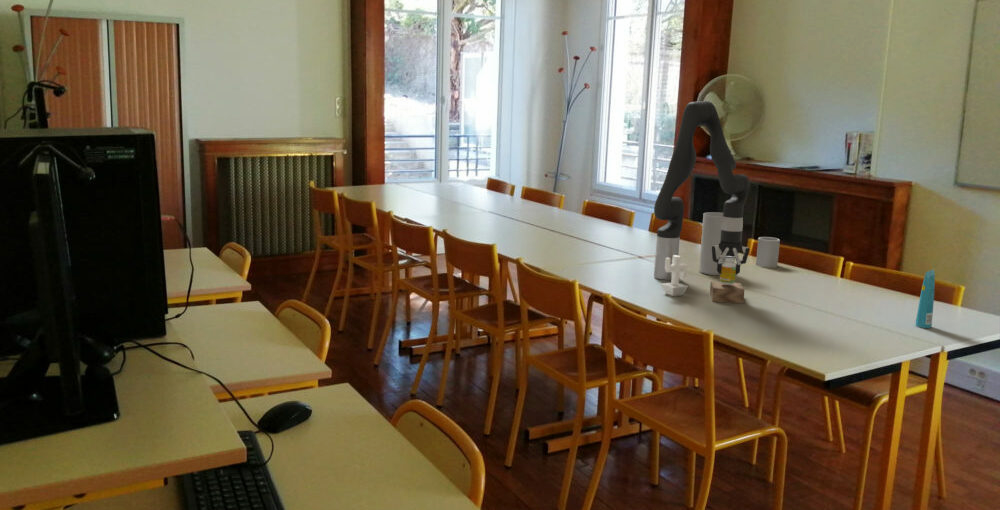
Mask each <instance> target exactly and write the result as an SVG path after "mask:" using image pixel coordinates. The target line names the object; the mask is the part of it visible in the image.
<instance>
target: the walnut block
mask: <svg viewBox="0 0 1000 510" xmlns="http://www.w3.org/2000/svg"><path fill="white" fill-rule="evenodd" d="M709 285H710V286H709V295H710V299H711V301H712V302H715V303H733V304H744V301H745V300H744V299H745V288H744V287H743V285H742V283H740V282H735V283H734V284H723V283H721V282H720V281H710V284H709Z"/></svg>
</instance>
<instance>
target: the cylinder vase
mask: <svg viewBox="0 0 1000 510" xmlns="http://www.w3.org/2000/svg"><path fill="white" fill-rule="evenodd" d="M702 217H703V218H702V228H701V229H702V230H701V232H702V233H701V243H700V256H699V265H698V267H699V268H698V269H699V272H700V273H701V274H704V275H709V276H718V277H720V274H719V273H718V272H717V263H716V262H714V261H713V259H712V250H711V246H712V245H714V246H715V245H719V243H720V238H721V225H722V219H723V212H718V211H717V212H716V211H715V212H714V211H711V212H704V213H703V216H702ZM715 252H716V258H717V259H719V257H720V254H721V250H720V249H719V248H718V249H717V251H715ZM722 262H724V260H723V261H722ZM722 262H721V264H722Z"/></svg>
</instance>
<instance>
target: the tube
mask: <svg viewBox="0 0 1000 510" xmlns="http://www.w3.org/2000/svg"><path fill="white" fill-rule="evenodd" d="M935 276H936V275H935V269H932V270H929V271H926V272H925V274H924V278H923V283H922V286H921V291H920V296H919V301H918V307H917V313H916V319H915V326H916V327H918V328H922V329H931V328H932V324H933V314H934V302H935V284H936V281H935V279H936V278H935Z"/></svg>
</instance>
